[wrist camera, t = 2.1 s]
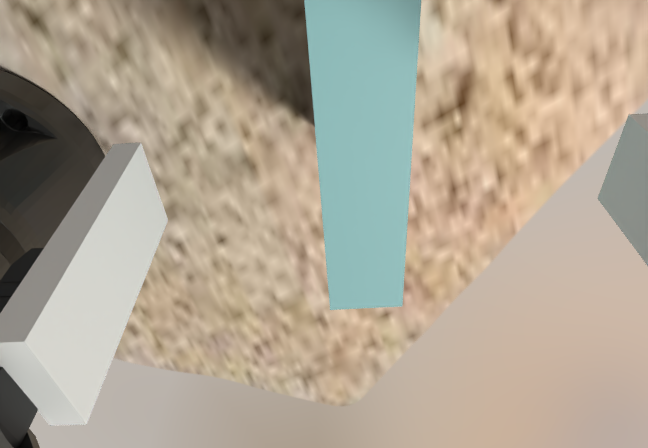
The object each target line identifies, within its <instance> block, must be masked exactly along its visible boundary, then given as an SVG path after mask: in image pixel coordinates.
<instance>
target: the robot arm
mask: <svg viewBox="0 0 648 448" xmlns="http://www.w3.org/2000/svg"><path fill="white" fill-rule="evenodd" d="M598 200H599V201H600V202H601V204H602V205H603V206H604V208H605V209H606V210H607V212H608V213H609V214H610V216H611V217H612V218H613V220H614V221H615V222H616V224H617V225H618V226H619V228H620V229H621V231H622V232H623V233H624V235H625V236H626V237H627V239H628V240H629V241H630V243H631V244H632V245H633V247H634V248H635V249H636V251H637V252H638V253H639V255H640V256H641V257H642V259H643V260H644V261H645V263H646V264H647V265H648V114H631V115H629V116H628V118H627V121H626V124H625V126H624V129H623V132H622V134H621V137H620V140H619V142H618V145H617V148H616V150H615V153H614V156H613V158H612V161H611V164H610V167H609V169H608V172H607V174H606V177H605V180H604V183H603V185H602V188H601V191H600V193H599V196H598ZM167 222H168V219H167V216H166V213H165V210H164V207H163V204H162V201H161V198H160V196H159V193H158V190H157V187H156V184H155V181H154V178H153V176H152V173H151V170H150V167H149V164H148V161H147V158H146V156H145V153H144V150H143V147H142V144H141V143H125V144H113V146H112V147H111V149H110V150H109V152H108V153H107V155H106V156H105V155H104V153H103V151H102V150H101V148H100V146H99V145H98V143H97V141H96V140H95V139H94V137H93V136H92V134H91V133H90V132H89V131H88V129H87V128H86V127H85V126H84V125H83V124H82V123H81V122H80V120H79V119H78V118H77V117H76V116H75V115H73V114H72V113H71V112H70V111H69V110H68V109H67V108H66V107H65V106H63V105H62V104H61V103H60V102H58V101H57V100H56V99H54V98H53V97H51V96H50V95H49V94H47V93H46V92H44V91H43V90H41V89H39V88H38V87H36V86H34V85H32V84H31V83H29V82H27V81H25V80H23V79H21V78H19V77H17V76H14V75H12V74H10V73H7V72H5V71H2V70H0V448H40V447H39V445H38V442H37V439H36V436H35V435H34V434H33V433H32V431H31V430H30V429H29V427H30V425H31V423H32V421H33V419H34V417H35V415H36V413H37V411H38V412H39V413H40V414H41V416H42V417H43V418H44V419H45V420H46V421H47V423H48V424H49V425H50V426H54V425H84V424H87V422H88V419H89V417H90V415H91V412H92V410H93V407H94V404H95V402H96V399H97V397H98V395H99V392H100V390H101V387H102V384H103V382H104V379H105V377H106V374H107V372H108V369H109V367H110V364H111V362H112V359H113V357H114V354H115V352H116V349H117V347H118V344H119V342H120V339H121V337H122V334H123V332H124V329H125V327H126V324H127V322H128V319H129V317H130V314H131V312H132V309H133V307H134V304H135V302H136V299H137V297H138V294H139V292H140V289H141V287H142V284H143V282H144V279H145V277H146V274H147V272H148V269H149V267H150V264H151V262H152V259H153V257H154V254H155V252H156V249H157V247H158V244H159V242H160V239H161V237H162V234H163V232H164V229H165V227H166V224H167Z"/></svg>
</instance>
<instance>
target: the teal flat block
mask: <svg viewBox="0 0 648 448" xmlns="http://www.w3.org/2000/svg"><path fill="white" fill-rule="evenodd" d="M304 3H305V15H306V27H307V39H308V51H309V62H310V74H311V86H312V98H313V110H314V122H315V134H316V146H317V158H318V169H319V181H320V193H321V205H322V217H323V229H324V241H325V253H326V265H327V277H328V288H329V300H330V310H337V309H357V308H377V307H398V306H402V302H403V286H404V270H405V254H406V237H407V221H408V205H409V189H410V173H411V156H412V140H413V124H414V108H415V92H416V75H417V59H418V43H419V27H420V11H421V0H304Z"/></svg>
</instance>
